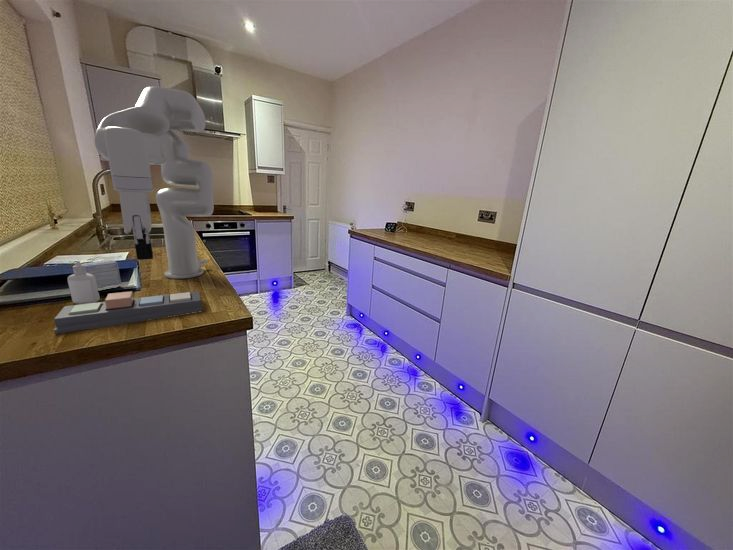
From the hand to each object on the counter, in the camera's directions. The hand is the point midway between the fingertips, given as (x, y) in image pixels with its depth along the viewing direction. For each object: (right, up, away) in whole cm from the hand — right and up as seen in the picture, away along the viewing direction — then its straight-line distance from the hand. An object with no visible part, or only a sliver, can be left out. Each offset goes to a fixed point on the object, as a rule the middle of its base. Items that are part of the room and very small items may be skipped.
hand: (145, 258), depth 74 cm
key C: (-12, -14, -3) cm, 19 cm away
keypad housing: (-4, -15, +2) cm, 15 cm away
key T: (-1, -13, +4) cm, 14 cm away
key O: (-6, -12, 0) cm, 13 cm away
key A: (+5, -12, +7) cm, 15 cm away
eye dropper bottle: (-22, -12, +7) cm, 26 cm away
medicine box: (-26, -9, +17) cm, 32 cm away
